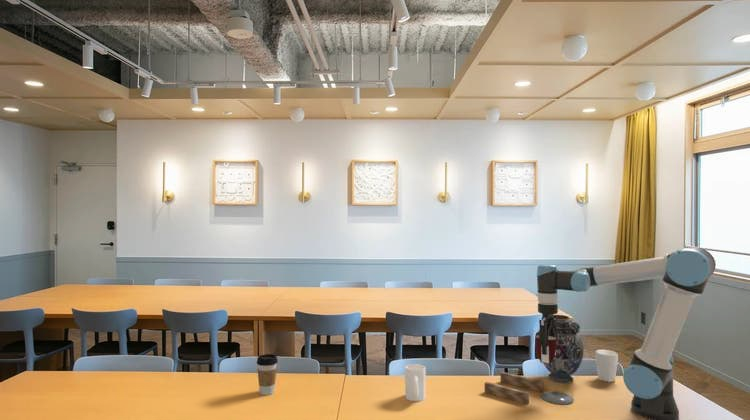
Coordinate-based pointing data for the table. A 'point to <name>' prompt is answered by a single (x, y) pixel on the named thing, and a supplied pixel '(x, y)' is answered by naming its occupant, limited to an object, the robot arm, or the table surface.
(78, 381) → the table surface
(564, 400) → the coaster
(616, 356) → the cup
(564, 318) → the decorative vase
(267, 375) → the coffee cup
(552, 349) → the mug
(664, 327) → the robot arm
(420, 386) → the mug
